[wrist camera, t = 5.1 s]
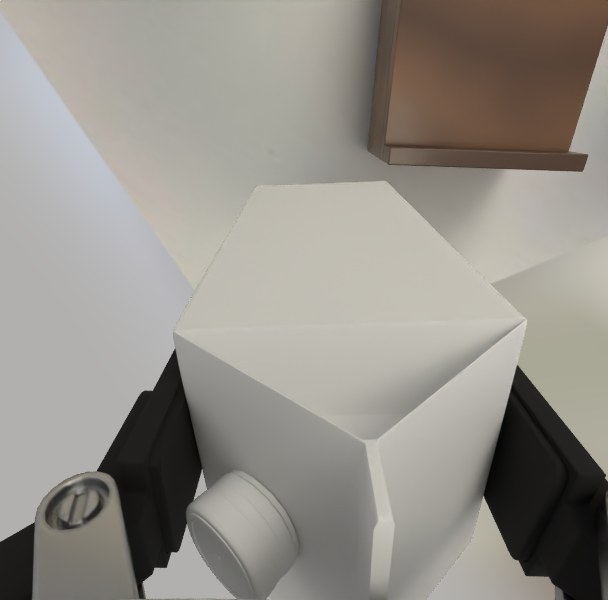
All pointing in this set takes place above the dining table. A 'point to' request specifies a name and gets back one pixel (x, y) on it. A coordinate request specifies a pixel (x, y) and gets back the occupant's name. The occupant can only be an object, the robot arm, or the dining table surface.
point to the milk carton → (341, 396)
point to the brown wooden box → (483, 82)
